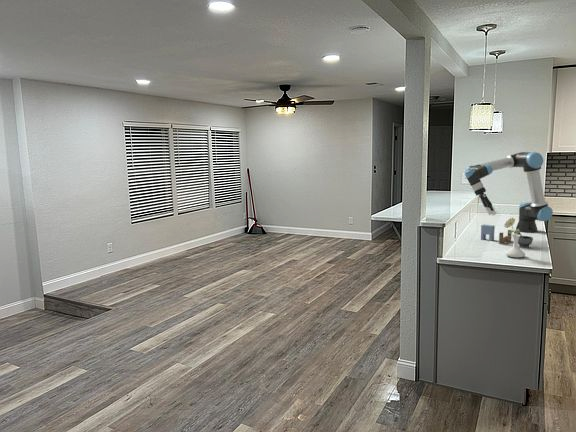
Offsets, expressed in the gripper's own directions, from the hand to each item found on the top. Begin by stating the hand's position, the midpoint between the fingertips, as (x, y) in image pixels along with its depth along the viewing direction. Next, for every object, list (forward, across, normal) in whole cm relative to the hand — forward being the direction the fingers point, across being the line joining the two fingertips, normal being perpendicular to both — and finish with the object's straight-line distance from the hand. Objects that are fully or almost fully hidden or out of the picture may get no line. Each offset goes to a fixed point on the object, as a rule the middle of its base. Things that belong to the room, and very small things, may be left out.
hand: (492, 214), depth 317 cm
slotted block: (+16, -5, -11) cm, 20 cm away
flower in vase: (+25, +44, -8) cm, 52 cm away
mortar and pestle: (+27, +16, +4) cm, 32 cm away
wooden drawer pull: (+21, +2, -2) cm, 22 cm away
